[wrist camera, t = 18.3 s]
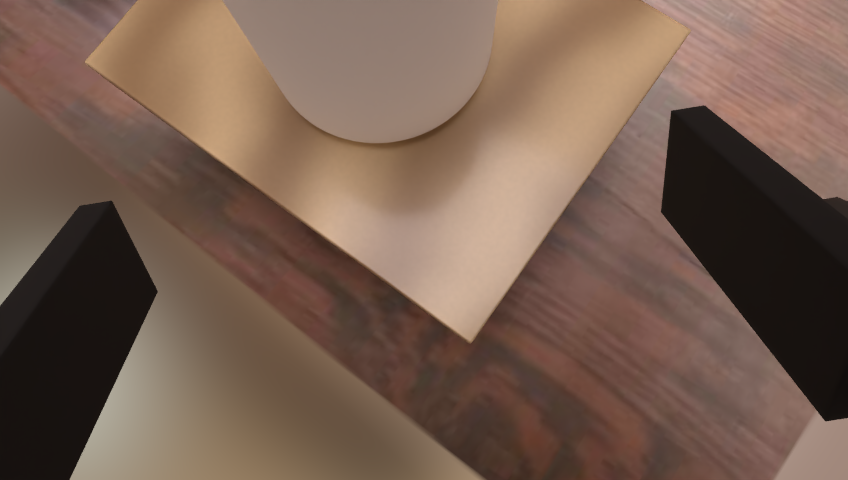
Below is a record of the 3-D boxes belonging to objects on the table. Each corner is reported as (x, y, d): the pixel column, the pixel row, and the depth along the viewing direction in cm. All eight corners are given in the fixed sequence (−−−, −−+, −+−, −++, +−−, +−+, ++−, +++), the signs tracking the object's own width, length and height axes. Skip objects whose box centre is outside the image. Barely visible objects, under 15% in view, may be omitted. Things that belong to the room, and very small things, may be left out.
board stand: (619, 126, 31) (692, 29, 22) (464, 346, 29) (471, 343, 20) (347, -47, 34) (308, -199, 24) (190, 146, 32) (83, 61, 23)
